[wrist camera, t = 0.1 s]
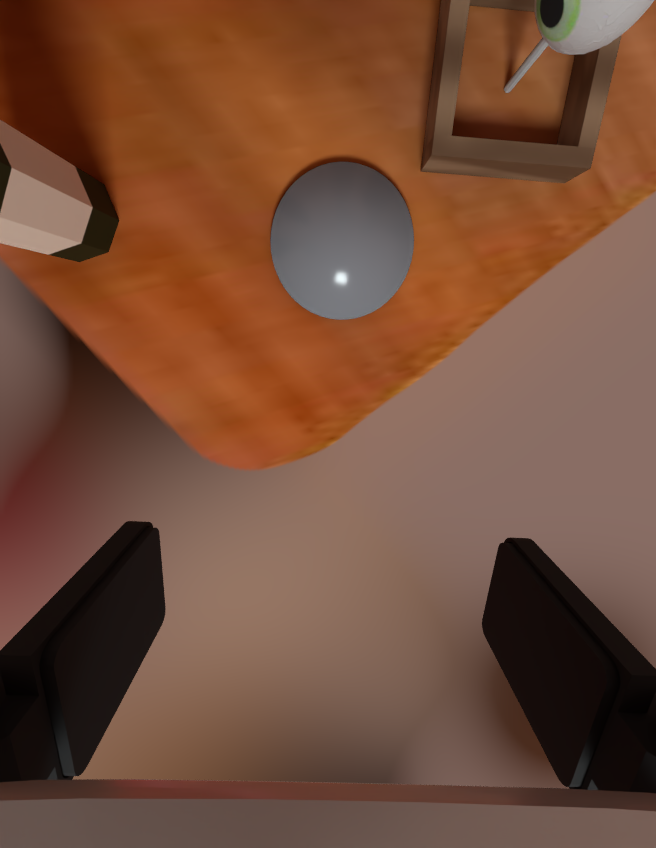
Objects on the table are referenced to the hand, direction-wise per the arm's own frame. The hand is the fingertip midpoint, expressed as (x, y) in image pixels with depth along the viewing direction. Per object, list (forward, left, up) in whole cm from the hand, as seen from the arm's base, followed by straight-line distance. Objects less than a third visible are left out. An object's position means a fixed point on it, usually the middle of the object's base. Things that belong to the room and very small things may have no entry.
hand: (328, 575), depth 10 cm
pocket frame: (-28, +15, -31) cm, 44 cm away
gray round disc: (-14, +1, -31) cm, 34 cm away
